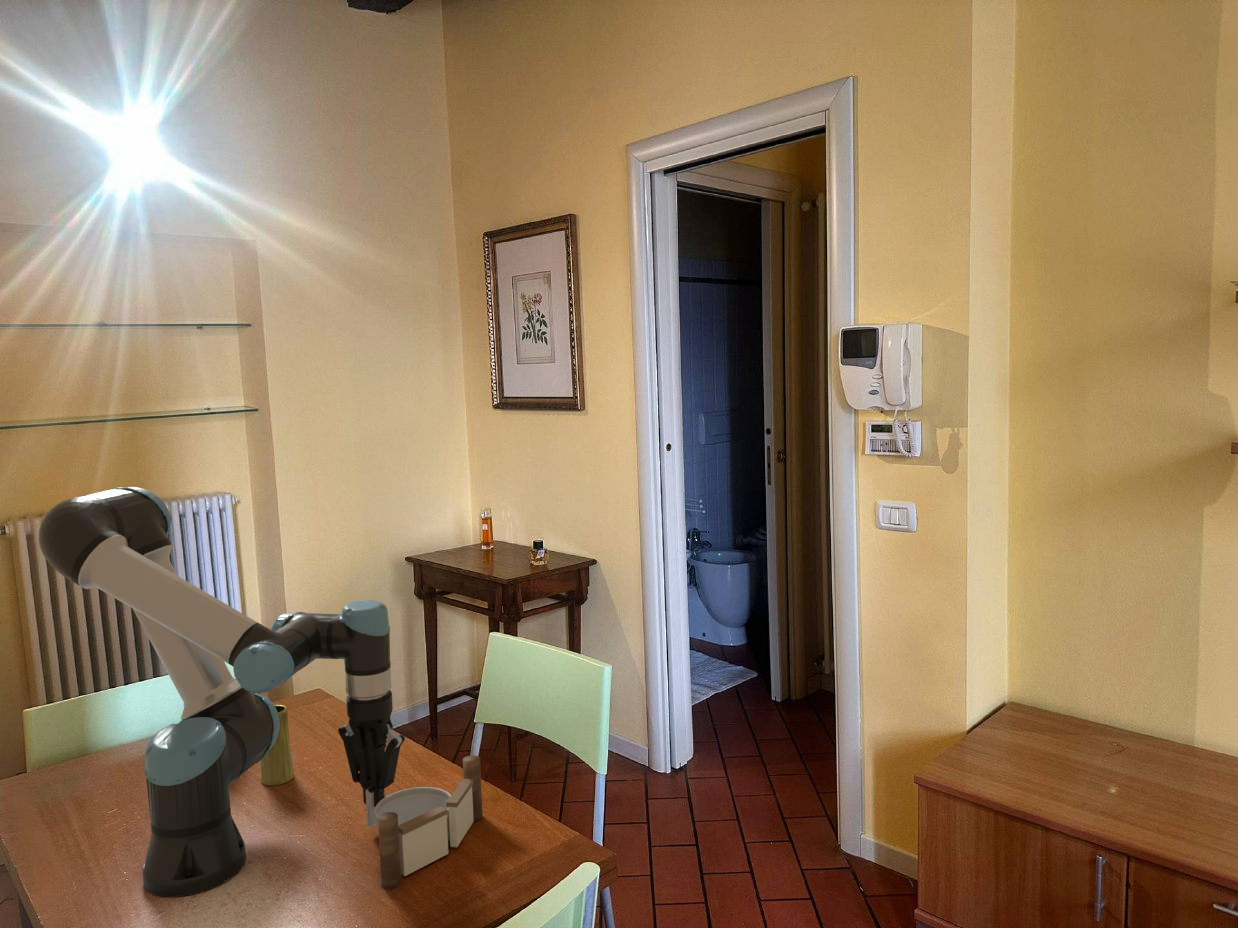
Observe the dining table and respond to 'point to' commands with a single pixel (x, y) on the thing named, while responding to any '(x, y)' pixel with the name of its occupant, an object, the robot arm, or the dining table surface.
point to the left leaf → (423, 840)
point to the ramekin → (413, 803)
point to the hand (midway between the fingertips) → (375, 822)
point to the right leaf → (460, 811)
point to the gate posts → (391, 833)
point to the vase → (278, 755)
